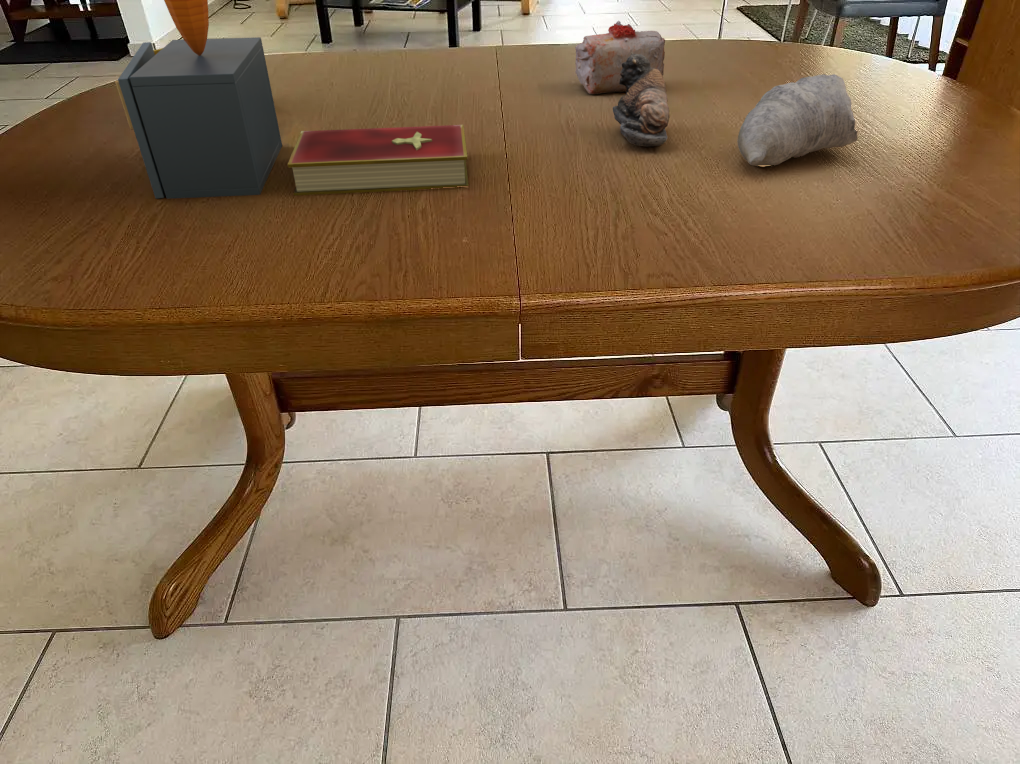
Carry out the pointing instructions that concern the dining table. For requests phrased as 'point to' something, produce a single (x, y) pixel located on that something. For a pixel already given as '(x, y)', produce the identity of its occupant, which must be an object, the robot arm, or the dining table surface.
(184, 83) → the cupboard
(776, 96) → the seashell
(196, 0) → the carrot
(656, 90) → the bison figurine
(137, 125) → the door
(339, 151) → the hardcover book
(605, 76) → the food item
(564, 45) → the dining table surface
